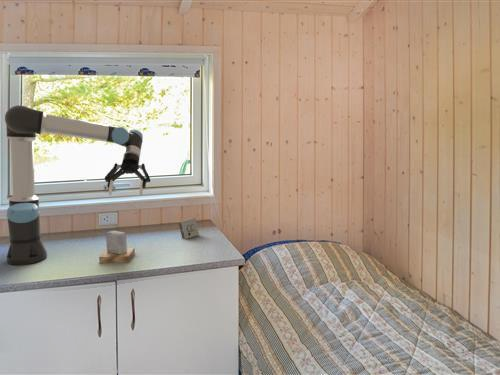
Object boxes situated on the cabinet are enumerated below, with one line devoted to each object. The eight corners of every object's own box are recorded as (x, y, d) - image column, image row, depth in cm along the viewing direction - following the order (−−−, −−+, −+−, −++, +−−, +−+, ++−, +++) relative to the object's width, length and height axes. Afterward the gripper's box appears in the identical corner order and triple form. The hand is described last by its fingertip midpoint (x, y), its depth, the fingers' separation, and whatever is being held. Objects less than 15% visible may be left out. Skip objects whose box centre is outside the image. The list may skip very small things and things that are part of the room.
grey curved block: (127, 252, 178) (126, 232, 177) (119, 255, 174) (117, 235, 173) (115, 249, 182) (114, 230, 181) (106, 252, 178) (105, 232, 177)
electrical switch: (185, 239, 206) (184, 221, 205) (178, 238, 209) (177, 220, 208) (199, 235, 213) (197, 217, 212) (192, 235, 216) (190, 217, 216)
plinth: (99, 262, 172) (99, 257, 172) (107, 253, 184) (106, 248, 184) (128, 262, 173) (128, 256, 173) (134, 253, 185) (134, 247, 184)
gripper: (158, 162, 202) (154, 198, 189) (106, 162, 200) (98, 198, 188) (157, 152, 196) (152, 188, 183) (103, 151, 194) (94, 188, 182)
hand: (125, 193), depth 185 cm, fingers open, 13 cm apart
